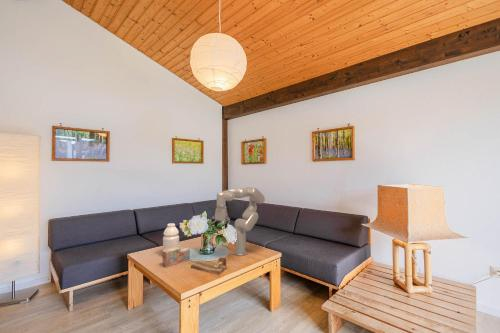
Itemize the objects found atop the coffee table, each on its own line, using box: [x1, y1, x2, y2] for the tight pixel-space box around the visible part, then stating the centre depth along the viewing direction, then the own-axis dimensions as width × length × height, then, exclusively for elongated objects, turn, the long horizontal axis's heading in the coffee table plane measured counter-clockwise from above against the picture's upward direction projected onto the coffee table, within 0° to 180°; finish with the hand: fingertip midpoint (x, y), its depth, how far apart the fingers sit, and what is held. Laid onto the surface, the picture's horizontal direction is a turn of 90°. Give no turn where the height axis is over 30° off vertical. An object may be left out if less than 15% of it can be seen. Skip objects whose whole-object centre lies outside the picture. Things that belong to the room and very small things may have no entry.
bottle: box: [162, 222, 180, 251], centre depth 210 cm, size 14×14×28 cm
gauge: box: [214, 257, 227, 268], centre depth 185 cm, size 12×5×6 cm, turn 156°
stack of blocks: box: [162, 247, 191, 268], centre depth 194 cm, size 21×6×12 cm, turn 137°
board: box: [190, 260, 227, 275], centre depth 184 cm, size 11×26×2 cm, turn 66°
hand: (220, 227), depth 199 cm, fingers open, 9 cm apart
